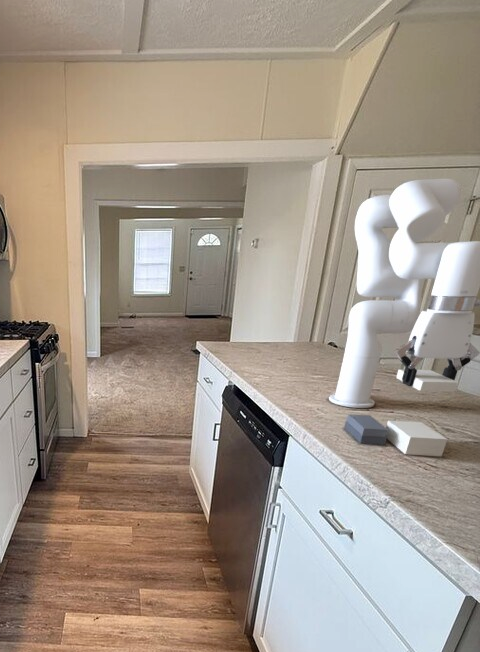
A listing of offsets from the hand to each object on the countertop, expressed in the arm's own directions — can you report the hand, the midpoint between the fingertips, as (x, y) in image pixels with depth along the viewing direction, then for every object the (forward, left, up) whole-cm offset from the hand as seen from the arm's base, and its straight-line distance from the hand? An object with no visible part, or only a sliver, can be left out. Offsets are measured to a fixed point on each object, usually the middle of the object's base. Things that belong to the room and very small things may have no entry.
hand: (426, 384), depth 92 cm
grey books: (-5, -8, -15) cm, 18 cm away
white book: (-1, 0, 0) cm, 1 cm away
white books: (0, +1, -15) cm, 15 cm away
